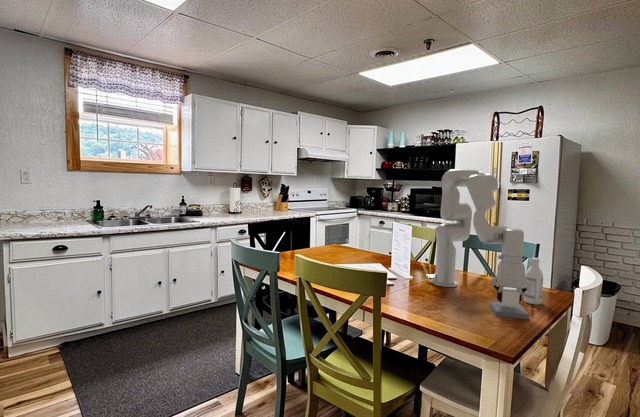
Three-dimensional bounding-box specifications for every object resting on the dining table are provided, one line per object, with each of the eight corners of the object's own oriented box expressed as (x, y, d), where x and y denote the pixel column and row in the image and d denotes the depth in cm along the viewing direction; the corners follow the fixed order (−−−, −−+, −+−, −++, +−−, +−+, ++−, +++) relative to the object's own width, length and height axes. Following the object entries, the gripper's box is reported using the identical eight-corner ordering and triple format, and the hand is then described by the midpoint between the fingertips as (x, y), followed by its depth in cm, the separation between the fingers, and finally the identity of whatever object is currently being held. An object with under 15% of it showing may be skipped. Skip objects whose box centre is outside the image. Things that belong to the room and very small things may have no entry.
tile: (495, 315, 143) (495, 311, 143) (489, 305, 155) (489, 301, 155) (528, 319, 140) (529, 314, 140) (519, 308, 152) (520, 304, 152)
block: (502, 305, 145) (503, 291, 145) (498, 300, 151) (499, 286, 150) (518, 307, 144) (519, 292, 143) (514, 302, 149) (515, 288, 149)
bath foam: (535, 299, 164) (538, 256, 162) (544, 305, 157) (548, 260, 155) (520, 299, 164) (523, 256, 162) (528, 304, 157) (532, 260, 155)
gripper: (490, 259, 144) (487, 302, 146) (538, 262, 140) (535, 307, 141) (486, 255, 151) (484, 297, 153) (532, 258, 147) (529, 301, 149)
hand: (508, 301), depth 147 cm, fingers closed on block, 6 cm apart
